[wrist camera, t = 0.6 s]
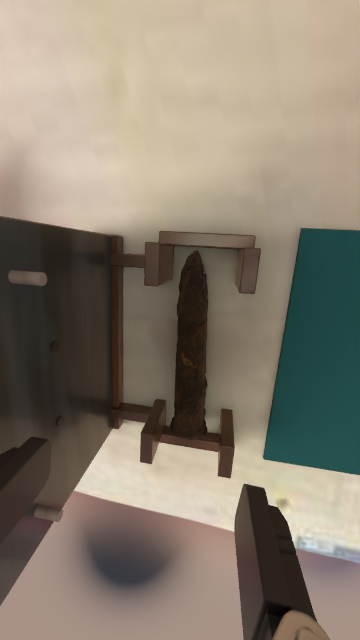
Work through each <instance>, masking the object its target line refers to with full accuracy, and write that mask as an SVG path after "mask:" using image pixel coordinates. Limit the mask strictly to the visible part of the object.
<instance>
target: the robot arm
mask: <svg viewBox="0 0 360 640" xmlns="http://www.w3.org/2000/svg"><path fill="white" fill-rule="evenodd" d="M51 447H52V443H51V441H50V440H47V439H43V438H38V437H34V436H32V437H30V438H29V439H28V440H27V441H26V442H25V443H24V444H23V445H22V446H20V447H19V448H16V447H13V448H11V449H10V450H8V451H6V452H4V453H2V454H1V455H0V546H1V545H2V543H3V542H4V541H5V539H6V538H7V537H8V535H9V534H10V533H11V531H12V530H13V528H14V527H15V526H16V524H17V523H18V522H19V520H20V519H21V518H22V516H23V515H24V514H25V512H26V511H27V509H28V508H29V507H30V505H31V504H32V503H33V501H34V500H35V499H36V497H37V496H38V495H39V493H40V492H41V490H42V489H43V488H44V486H45V485H46V483H47V481H48V478H49V475H50V471H51ZM235 543H236V555H237V566H238V578H239V589H240V601H241V613H242V625H243V636H244V640H330V638H329V637H328V635H327V634H326V632H325V631H324V630H323V628H322V627H321V626H320V625H319V624H318V623H317V620H316V618H315V615H314V612H313V609H312V605H311V602H310V599H309V595H308V592H307V588H306V585H305V581H304V578H303V575H302V571H301V568H300V564H299V561H298V557H297V556H296V550H295V547H294V544H293V541H292V537H291V533H290V530H289V526H288V523H287V521H286V519H285V518H284V516H283V515H282V513H281V512H280V510H279V509H278V507H274V506H270V505H268V501H267V496H266V492H265V489H264V488H261V487H257V486H252V485H248V484H244V485H243V488H242V491H241V495H240V499H239V503H238V507H237V511H236V516H235Z"/></svg>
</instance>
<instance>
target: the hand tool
mask: <svg viewBox="0 0 360 640" xmlns="http://www.w3.org/2000/svg"><path fill="white" fill-rule="evenodd" d="M179 292H180V295H179V299H178V304H177V316H178V334H177V336H178V339H177V353H176V375H175V402H174V408H175V412H174V417H173V418H172V421H171V424H170V430H171V433H172V434H173V435H174V436H176V437H179V438H183V439H187V440H194V439H197V438H201V437H205V436H206V434H207V427H206V422H205V420H204V416H205V412H206V411H205V409H204V403H205V396H206V388H207V380H206V376H205V373H206V338H207V309H208V299H207V295H208V293H207V283H206V274H204V269H203V264H202V261H201V257H200V254H199V251H198V250H195V251H194V252H193V253H192V254H190V255H189V256H188V257H187V260H186V262H185V265H184V267H183V269H182V272H181V278H180V284H179Z"/></svg>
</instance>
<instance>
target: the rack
mask: <svg viewBox="0 0 360 640" xmlns="http://www.w3.org/2000/svg"><path fill="white" fill-rule="evenodd" d="M173 245H175V246H193V247H210V248H228V249H240V250H239V258H238V267H237V276H236V286H237V288H238V291H239V293H246V294H255V290H256V282H257V274H258V267H259V259H260V252H261V249H260V248H254V245H255V236H252V235H231V234H211V233H191V232H170V231H160V232H159V243H154V242H146V243H145V255H136V254H123V237H122V236H116V235H107V234H101V233H95V232H89V231H84V230H78V229H72V228H66V227H61V226H55V225H49V224H43V223H38V222H32V221H26V220H21V219H15V218H9V217H3V216H0V455H1V454H2V453H4V452H6V451H8V450H10V449H11V448H13V447H16V448H19V447H20V446H22V445H23V444H24V443H25V442H26V441H27V440H28V439H29V438H30V437H32V436H34V437H38V438H43V439H47V440H50V441H51V443H52V447H51V471H50V475H49V478H48V481H47V483H46V485H45V486H44V488H43V489H42V490H41V492H40V493H39V495H38V496H37V497H36V499H35V500H34V501H33V503H32V504H31V505H30V507H29V508H28V509H27V511H26V512H25V514H24V515H23V516H22V518H21V519H20V520H19V522H18V523H17V524H16V526H15V527H14V528H13V530H12V531H11V533H10V534H9V535H8V537H7V538H6V539H5V541H4V542H3V543H2V545H1V546H0V606H1V604H2V602H3V601H4V599H5V598H6V596H7V595H8V593H9V591H10V590H11V588H12V587H13V585H14V584H15V582H16V580H17V579H18V577H19V576H20V574H21V573H22V571H23V569H24V568H25V566H26V565H27V563H28V561H29V560H30V558H31V557H32V555H33V554H34V552H35V550H36V549H37V547H38V546H39V544H40V542H41V541H42V539H43V538H44V536H45V535H46V533H47V531H48V530H49V528H50V527H51V525H52V524H53V522H54V521H56V522H59V521H60V519H61V518H62V515H63V510H62V508H63V506H64V505H65V503H66V501H67V500H68V498H69V497H70V495H71V494H72V492H73V490H74V489H75V487H76V486H77V484H78V483H79V481H80V479H81V478H82V476H83V475H84V473H85V471H86V470H87V468H88V467H89V465H90V464H91V462H92V460H93V459H94V457H95V456H96V454H97V453H98V451H99V449H100V448H101V446H102V445H103V443H104V441H105V440H106V438H107V437H108V435H109V434H110V432H111V430H112V429H119V428H120V426H121V425H122V419H124V420H131V421H137V422H143V423H145V425H144V427H143V429H142V432H141V448H140V462H142V463H148V464H152V462H153V459H154V456H155V453H156V450H157V447H158V444H159V442H160V443H167V444H173V445H179V446H185V447H191V448H197V449H203V450H209V451H215V452H218V476H220V477H226V478H231V471H232V464H233V456H234V449H235V447H234V430H233V414H232V410H228V409H221V418H220V427H219V434H213V433H207V434H206V436H205V437H201V438H197V439H194V440H187V439H183V438H179V437H176V436H174V435H173V434H172V433H171V430H170V427H168V426H165V411H166V401H163V400H156V401H155V403H154V406H153V407H147V406H140V405H134V404H127V403H122V366H123V266H124V267H139V268H145V278H144V285H146V286H160V285H162V284H164V283H166V282H168V281H170V280H172V272H173V252H174V246H173Z"/></svg>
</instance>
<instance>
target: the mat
mask: <svg viewBox="0 0 360 640" xmlns="http://www.w3.org/2000/svg"><path fill="white" fill-rule="evenodd" d="M263 458H264V459H265V460H271V461H277V462H283V463H289V464H295V465H301V466H308V467H314V468H320V469H326V470H332V471H338V472H344V473H350V474H356V475H360V231H351V230H328V229H306V228H302V229H301V234H300V240H299V246H298V252H297V258H296V264H295V270H294V276H293V282H292V288H291V294H290V299H289V305H288V311H287V317H286V323H285V329H284V335H283V341H282V347H281V353H280V359H279V365H278V371H277V377H276V383H275V389H274V395H273V401H272V407H271V413H270V419H269V425H268V431H267V437H266V443H265V449H264V455H263Z"/></svg>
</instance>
